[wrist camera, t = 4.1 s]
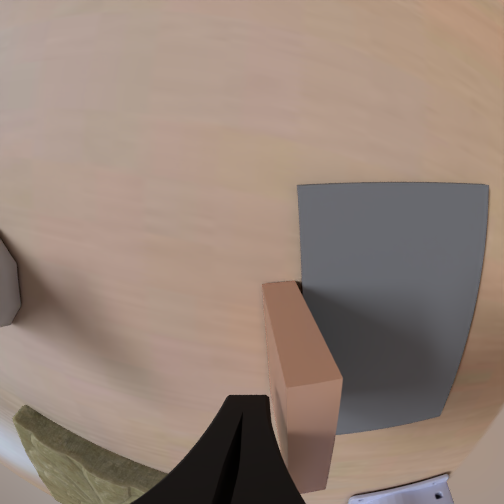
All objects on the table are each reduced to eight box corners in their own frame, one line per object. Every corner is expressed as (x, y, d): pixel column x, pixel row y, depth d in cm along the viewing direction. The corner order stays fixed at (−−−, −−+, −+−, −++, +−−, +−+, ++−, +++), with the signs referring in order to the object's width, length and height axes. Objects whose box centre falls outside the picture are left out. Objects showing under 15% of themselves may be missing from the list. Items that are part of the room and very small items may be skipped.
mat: (483, 184, 11) (488, 185, 10) (438, 411, 15) (440, 415, 14) (297, 184, 12) (297, 185, 11) (301, 432, 16) (302, 437, 15)
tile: (298, 280, 13) (348, 377, 7) (299, 385, 15) (329, 488, 8) (262, 284, 13) (286, 387, 7) (270, 389, 15) (288, 495, 8)
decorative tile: (60, 484, 25) (50, 501, 22) (24, 398, 19) (4, 421, 16) (189, 536, 25) (184, 556, 22) (218, 482, 19) (211, 517, 16)
